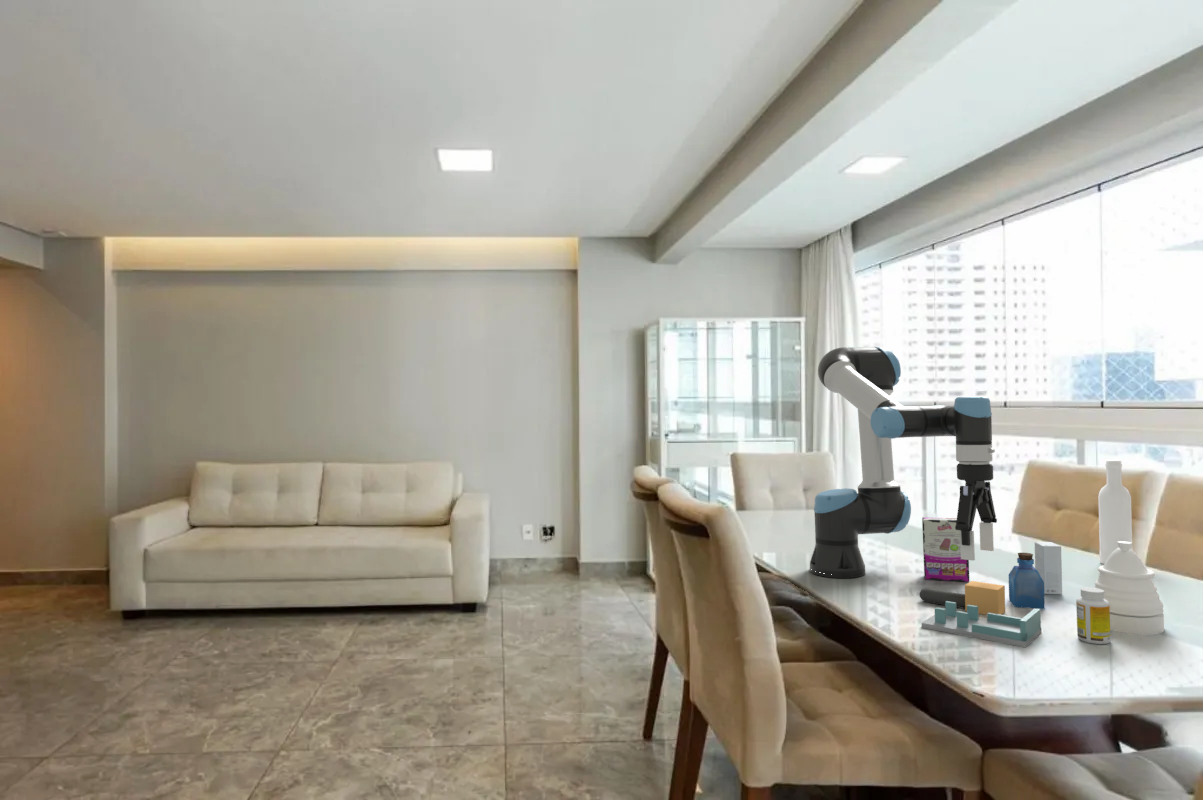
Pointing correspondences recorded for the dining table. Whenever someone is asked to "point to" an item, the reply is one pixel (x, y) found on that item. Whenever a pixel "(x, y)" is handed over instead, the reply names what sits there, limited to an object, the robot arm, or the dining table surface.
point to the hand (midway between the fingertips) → (977, 555)
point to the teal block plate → (986, 625)
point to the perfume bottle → (1026, 584)
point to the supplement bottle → (1093, 616)
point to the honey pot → (1130, 593)
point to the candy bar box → (943, 551)
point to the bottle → (1114, 511)
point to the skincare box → (1049, 566)
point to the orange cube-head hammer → (971, 597)
